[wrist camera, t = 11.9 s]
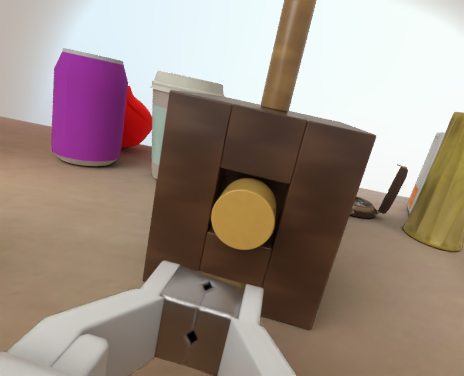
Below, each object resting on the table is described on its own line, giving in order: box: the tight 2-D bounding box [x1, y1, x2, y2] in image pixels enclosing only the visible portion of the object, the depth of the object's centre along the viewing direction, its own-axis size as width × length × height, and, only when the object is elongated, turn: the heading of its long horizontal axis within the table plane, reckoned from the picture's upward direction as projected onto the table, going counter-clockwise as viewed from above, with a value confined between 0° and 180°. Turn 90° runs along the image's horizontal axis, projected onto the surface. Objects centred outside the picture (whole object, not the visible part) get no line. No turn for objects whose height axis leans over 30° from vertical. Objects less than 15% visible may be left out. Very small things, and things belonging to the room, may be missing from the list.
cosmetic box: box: [407, 133, 445, 214], centre depth 45 cm, size 6×4×12 cm
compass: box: [350, 165, 408, 218], centre depth 40 cm, size 8×8×7 cm
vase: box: [403, 112, 464, 251], centre depth 35 cm, size 6×6×14 cm
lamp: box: [143, 0, 376, 330], centre depth 19 cm, size 11×11×33 cm
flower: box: [121, 86, 152, 148], centre depth 47 cm, size 8×8×8 cm
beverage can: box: [51, 48, 128, 166], centre depth 37 cm, size 8×8×12 cm
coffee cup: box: [151, 71, 224, 179], centre depth 38 cm, size 8×9×12 cm
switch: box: [211, 178, 276, 250], centre depth 16 cm, size 3×2×3 cm
